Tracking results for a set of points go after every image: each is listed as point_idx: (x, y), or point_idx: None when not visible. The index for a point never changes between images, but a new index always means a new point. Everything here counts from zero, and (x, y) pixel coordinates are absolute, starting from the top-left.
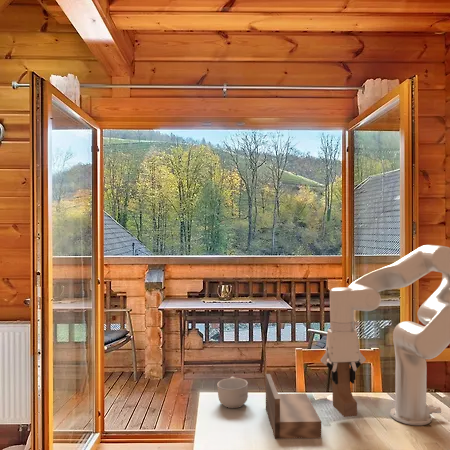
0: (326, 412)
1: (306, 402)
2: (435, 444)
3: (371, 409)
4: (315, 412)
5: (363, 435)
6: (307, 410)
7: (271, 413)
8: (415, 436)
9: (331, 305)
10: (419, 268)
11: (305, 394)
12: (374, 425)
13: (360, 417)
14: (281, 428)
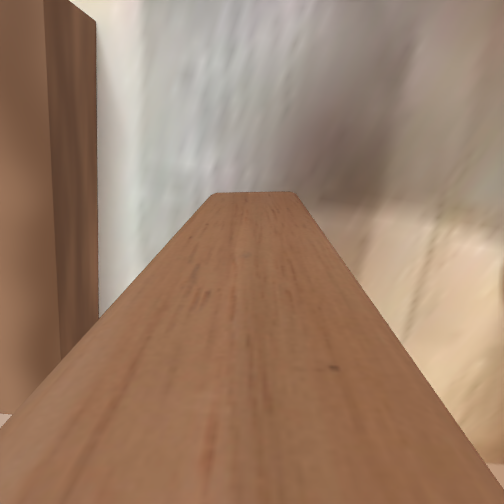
0: (205, 116)
1: (20, 171)
2: (499, 459)
3: (483, 119)
4: (53, 324)
5: None
6: (9, 293)
7: None
8: (477, 404)
9: None
10: None
11: (36, 3)
12: (377, 299)
13: (361, 210)
14: None
